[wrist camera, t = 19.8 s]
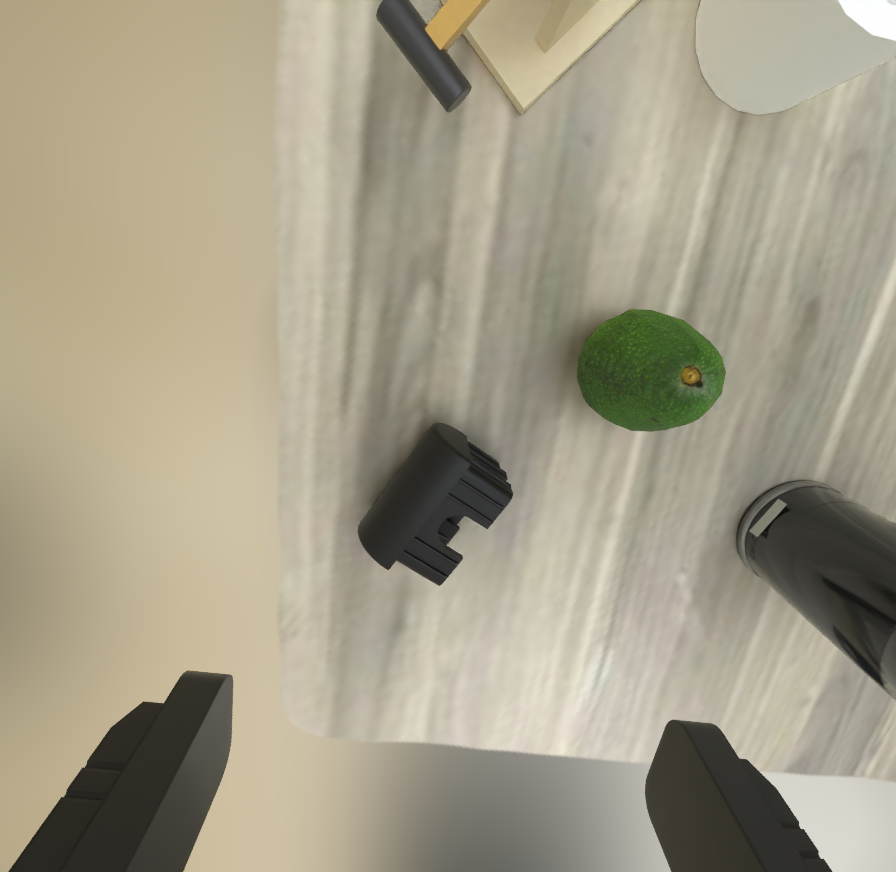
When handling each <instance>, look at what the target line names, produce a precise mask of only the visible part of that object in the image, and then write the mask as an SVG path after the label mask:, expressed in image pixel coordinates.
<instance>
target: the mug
mask: <svg viewBox="0 0 896 872" xmlns="http://www.w3.org/2000/svg"><path fill="white" fill-rule="evenodd" d="M695 50H696V54H697V57H698V61H699V65H700V68H701V72H702V76H703V77H704V79H705V80H706V82H707V83H708V85H709V86H710V88H711V89H712V91H713V92H714V94H715V95H716V97H718V98H719V99H721V100H722V101H723V102H725V103H726V104H728V105H729V106H730V107H732V108H733V109H735V110H738V111H742V112H746V113H751V114H755V115H762V114H769V113H776V112H782V111H784V110H787V109H789V108H791V107H793V106H795V105H797V104H799V103H801V102H803V101H806V100H808V99H810V98H812V97H814V96H816V95H818V94H820V93H823V92H825V91H827V90H829V89H831V88H833V87H835V86H837V85H840V84H842V83H844V82H846V81H848V80H850V79H852V78H854V77H856V76H859V75H861V74H863V73H865V72H867V71H869V70H871V69H873V68H876V67H878V66H880V65H882V64H884V63H886V62H888V61H890V60H893V59H895V58H896V0H701V1H700V5H699V9H698V12H697V16H696V32H695Z"/></svg>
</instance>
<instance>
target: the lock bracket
mask: <svg viewBox="0 0 896 872" xmlns="http://www.w3.org/2000/svg"><path fill="white" fill-rule="evenodd" d="M639 1H640V0H490V1H489V2H488V4H487V5H486V6H485V7H484V8H483V9H482V11H481V12H480V13H479V14H478V15H477V16H476V18H475V19H474V20H473V21H472V22H471V23H470V25H469V26H468V27H467V28H466V29H465V30H464V32H463V34H464V36H465V37H466V38H467V40H468V41H469V43H470V44H471V45H472V47H473V48H474V50H475V51H476V53H477V54H478V55H479V57H480V58H481V60H482V61H483V62H484V64H485V65H486V67H487V68H488V69H489V71H490V72H491V74H492V75H493V76H494V78H495V79H496V81H497V82H498V84H499V85H500V86H501V88H502V89H503V91H504V92H505V93H506V95H507V96H508V98H509V99H510V100H511V102H512V103H513V105H514V106H515V107H516V109H517V110H518V112H519V113H520V115H522V114H523V113H524V112H525V111H526V110H527V109H528V108H529V107H530V106H531V105H532V104H533V103H534V102H535V101H536V100H537V99H538V98H539V97H541V96H542V95H543V94H544V93H545V92H546V91H547V90H548V89H549V88H550V87H551V86H552V85H553V84H554V83H555V82H556V81H557V80H558V79H559V78H560V77H561V76H562V75H563V74H564V73H565V72H567V71H568V70H569V69H570V68H571V67H572V66H573V65H574V64H575V63H576V62H577V61H578V60H579V59H580V58H581V57H582V56H583V55H584V54H585V53H586V52H587V51H588V50H589V49H590V48H591V47H592V46H594V45H595V44H596V43H597V42H598V41H599V40H600V39H601V38H602V37H603V36H604V35H605V34H606V33H607V32H608V31H609V30H610V29H611V28H612V27H613V26H614V25H615V24H616V23H617V22H618V21H620V20H621V19H622V18H623V17H624V16H625V15H626V14H627V13H628V12H629V11H630V10H631V9H632V8H633V7H634V6H635V5H636V4H637V3H638V2H639ZM440 2H441V3H442V5H444V4H445V3H446V2H447V0H440Z"/></svg>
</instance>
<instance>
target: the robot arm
mask: <svg viewBox="0 0 896 872" xmlns="http://www.w3.org/2000/svg"><path fill="white" fill-rule="evenodd" d="M737 545H738V550H739V554H740V556H741V558H742V560H743V562H744V563H745V564H746V565H747V567H748V568H749V569H751V570H752V571H753V572H754V573H755V574H756V575H757V576H759V577H760V578H762V579H763V580H764V581H766V582H767V583H768V584H769V585H770V586H771V587H772V588H773V589H774V590H775V591H776V592H777V593H778V594H779V595H781V596H782V597H783V598H784V599H785V600H786V601H787V602H788V603H789V604H790V605H791V606H793V607H794V608H795V609H796V610H797V611H798V612H799V613H800V614H801V615H802V616H803V617H805V618H806V619H807V620H808V621H809V622H810V623H811V624H812V625H813V626H814V627H816V628H817V629H818V630H819V631H820V632H821V633H822V634H823V635H824V636H825V637H826V638H828V639H829V640H830V641H831V642H832V643H833V644H834V645H835V646H836V647H837V648H839V649H840V650H841V651H842V652H843V653H844V654H845V655H846V656H847V657H848V658H849V659H851V660H852V661H853V662H854V663H855V664H856V665H857V666H858V667H859V668H860V669H862V670H863V671H864V672H865V673H866V674H867V675H868V676H869V677H870V678H871V679H872V680H874V681H875V682H876V683H877V684H878V685H879V686H880V687H881V688H882V689H883V690H885V691H886V692H887V693H888V694H889V695H890V696H891V697H893V698H894V699H895V700H896V524H895V523H893V522H891V521H889V520H888V519H886V518H884V517H882V516H880V515H878V514H876V513H874V512H873V511H871V510H869V509H867V508H866V507H864V506H862V505H860V504H858V503H856V502H854V501H852V500H851V499H849V498H847V497H845V496H843V495H842V494H841V493H840V492H838V491H836V490H834V489H833V488H831V487H829V486H827V485H825V484H822V483H819V482H814V481H795V482H790V483H787V484H784V485H781V486H778V487H776V488H774V489H772V490H770V491H769V492H767V493H766V494H764V495H763V496H762V497H760V498H759V499H758V500H757V501H756V502H755V503H754V504H753V505H752V506H751V507H750V509H749V510H748V511H747V513H746V514H745V516H744V518H743V520H742V522H741V524H740V527H739V531H738V538H737ZM232 704H233V677H232V676H231V675H228V674H218V673H208V672H198V671H186V672H185V673H183V675H182V676H181V677H180V678H179V680H178V682H177V683H176V685H175V686H174V688H173V689H172V691H171V693H170V694H169V696H168V698H167V699H166V701H165V702H164V703H153V702H142V703H141V704H140V705H139V706H137V707H136V708H135V709H134V710H132V711H131V712H130V713H129V714H127V715H126V716H125V717H124V718H122V719H121V720H120V721H119V722H117V723H116V724H115V725H114V726H113V727H111V728H110V730H109V731H108V733H107V734H106V735H105V737H104V738H103V740H102V741H101V743H100V744H99V745H98V747H97V748H96V749H95V751H94V752H93V754H92V755H91V756H90V758H89V760H88V761H87V765H86V766H85V768H82V769H81V771H80V772H79V773H78V775H77V776H76V778H75V779H74V780H73V782H72V783H71V785H70V786H69V787H68V789H67V792H66V795H65V796H64V797H61V799H60V800H59V801H58V803H57V804H56V806H55V807H54V808H53V810H52V811H51V813H50V814H49V815H48V817H47V818H46V820H45V821H44V823H43V824H42V825H41V827H40V828H39V830H38V831H37V832H36V834H35V835H34V837H33V838H32V839H31V841H30V842H29V844H28V845H27V846H26V848H25V849H24V851H23V852H22V853H21V855H20V856H19V858H18V859H17V861H16V862H15V863H14V865H13V866H12V868H11V869H10V870H9V872H183V871H184V868H185V866H186V864H187V861H188V859H189V856H190V854H191V852H192V849H193V847H194V844H195V842H196V840H197V837H198V835H199V832H200V830H201V828H202V825H203V823H204V821H205V818H206V816H207V813H208V811H209V809H210V806H211V804H212V801H213V799H214V797H215V794H216V792H217V789H218V787H219V785H220V782H221V779H222V777H223V774H224V771H225V768H226V764H227V760H228V757H229V752H230V746H231V735H232ZM645 796H646V804H647V809H648V813H649V816H650V819H651V822H652V824H653V827H654V829H655V832H656V834H657V837H658V839H659V842H660V844H661V847H662V849H663V852H664V854H665V857H666V859H667V861H668V864H669V867H670V869H671V872H832V871H831V869H830V868H829V866H828V865H827V863H826V862H825V860H824V859H821V858H820V857H819V855H818V852H819V851H818V850H817V848H816V847H815V845H814V844H813V842H812V841H811V839H810V838H809V836H808V835H807V833H806V832H805V830H804V829H800V827H799V821H798V820H797V819H796V817H795V816H794V814H793V813H792V811H791V810H790V808H789V807H788V805H787V804H786V802H785V801H784V799H783V798H782V796H781V795H780V793H779V792H778V790H777V789H776V788H775V787H774V786H773V785H772V784H771V783H770V782H769V781H768V780H767V779H766V778H765V777H764V776H763V775H762V774H761V773H760V772H759V771H758V770H757V769H756V768H755V767H754V766H753V765H752V764H751V763H750V762H749V761H748V760H747V759H739V757H738V756H737V754H736V753H735V751H734V750H733V748H732V746H731V745H730V743H729V742H728V740H727V739H726V737H725V736H724V734H723V733H722V731H721V730H720V729H719V728H718V727H717V726H716V725H714V724H711V723H701V722H691V721H680V720H671V721H669V722H668V723H667V725H666V727H665V730H664V732H663V735H662V738H661V740H660V743H659V746H658V748H657V751H656V754H655V756H654V759H653V762H652V764H651V767H650V770H649V773H648V776H647V779H646V785H645Z"/></svg>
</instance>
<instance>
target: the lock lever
mask: <svg viewBox="0 0 896 872" xmlns="http://www.w3.org/2000/svg"><path fill="white" fill-rule="evenodd" d="M489 1H490V0H447V2H446V3H445V4H444V5H443V7H442V8H441V9H440V10H439V11H438V13H437V14H436V15H435V16H434V18H433V19H432V20H431V21H430V22H429V24H428V25H427V24H426V23H425V21H424V20H423V19H422V17H421V16H420V14H419V13H418V12H417V10H416V9H415V8H414V6H413V5H412V3H411V2H410V1H409V0H383V1H382V2H381V4H380V6H379V8H378V10H377V14H376V17H377V20H378V21H379V22H380V24H381V25H382V26H383V28H384V29H385V30H386V32H387V33H388V34H389V36H390V37H391V38H392V40H393V41H394V42H395V44H396V45H397V46H398V48H399V49H400V50H401V52H402V53H403V54H404V56H405V57H406V58H407V60H408V61H409V62H410V64H411V65H412V66H413V68H414V69H415V70H416V72H417V73H418V74H419V76H420V77H421V78H422V80H423V81H424V82H425V84H426V85H427V86H428V88H429V89H430V90H431V92H432V93H433V94H434V96H435V97H436V98H437V100H438V101H439V102H440V104H441V105H442V106H443V108H444V109H445V110H446V112H448V113H449V112H451V111H453V110H454V109H455V108H456V107H457V106H458V105H459V104H460V103H461V102H462V101H463V100H464V99H465V98H466V96H467V95H468V94H469V92H470V90H471V85H470V83H469V82H468V81H467V79H466V78H465V76H464V75H463V74H462V72H461V71H460V70H459V68H458V67H457V65H456V64H455V63H454V61H453V60H452V59H451V57H450V56H449V54H448V53H447V52H446V51H447V50H448V49H449V48H450V47H451V46H452V44H453V43H454V42H455V41H456V40H457V39H458V37H459V36H460V35H461V34H462V33H463V32H464V30H465V29H466V28H467V27H468V26H469V25H470V23H471V22H472V21H473V20H474V19H475V18H476V16H477V15H478V14H479V13H480V12H481V11H482V9H483V8H484V7H485V6H486V5H487V4H488V2H489Z"/></svg>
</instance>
